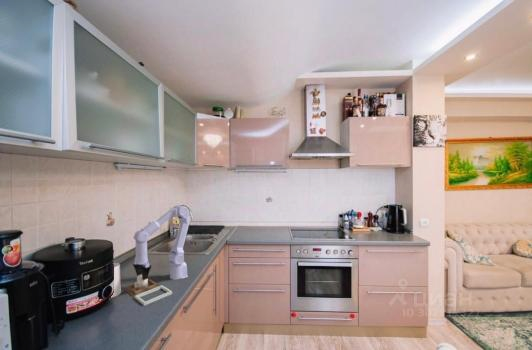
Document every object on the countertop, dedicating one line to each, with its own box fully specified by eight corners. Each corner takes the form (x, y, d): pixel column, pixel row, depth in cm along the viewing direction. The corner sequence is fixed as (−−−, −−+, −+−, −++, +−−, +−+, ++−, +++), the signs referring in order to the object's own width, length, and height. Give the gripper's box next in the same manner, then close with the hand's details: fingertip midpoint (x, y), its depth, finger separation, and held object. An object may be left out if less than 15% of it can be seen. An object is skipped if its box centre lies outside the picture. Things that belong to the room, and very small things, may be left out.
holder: (150, 281, 140) (149, 277, 140) (161, 288, 131) (161, 283, 131) (124, 291, 130) (123, 286, 129) (134, 299, 120) (134, 294, 120)
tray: (162, 289, 130) (162, 285, 130) (172, 295, 123) (172, 291, 123) (135, 300, 120) (134, 295, 120) (144, 307, 113) (144, 302, 113)
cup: (124, 291, 129) (123, 262, 129) (115, 299, 121) (114, 268, 121) (108, 292, 129) (107, 263, 129) (98, 300, 120) (97, 269, 120)
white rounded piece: (145, 285, 134) (145, 272, 134) (149, 287, 131) (149, 275, 131) (133, 289, 129) (132, 276, 129) (136, 292, 126) (136, 279, 125)
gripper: (128, 252, 132) (129, 276, 132) (139, 257, 122) (140, 283, 122) (141, 249, 137) (142, 272, 137) (153, 253, 128) (153, 279, 128)
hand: (142, 277), depth 130 cm, fingers open, 7 cm apart
